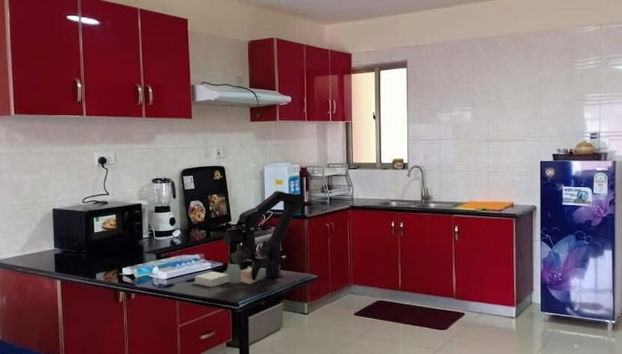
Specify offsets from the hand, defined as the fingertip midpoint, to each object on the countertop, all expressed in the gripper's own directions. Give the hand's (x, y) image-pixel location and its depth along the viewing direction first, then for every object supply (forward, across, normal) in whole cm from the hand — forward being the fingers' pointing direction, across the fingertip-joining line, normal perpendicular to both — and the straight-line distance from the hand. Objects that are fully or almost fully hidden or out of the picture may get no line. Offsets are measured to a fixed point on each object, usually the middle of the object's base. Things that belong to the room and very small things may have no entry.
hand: (249, 279), depth 244 cm
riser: (+1, -12, -10) cm, 16 cm away
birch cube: (+1, 0, 0) cm, 1 cm away
